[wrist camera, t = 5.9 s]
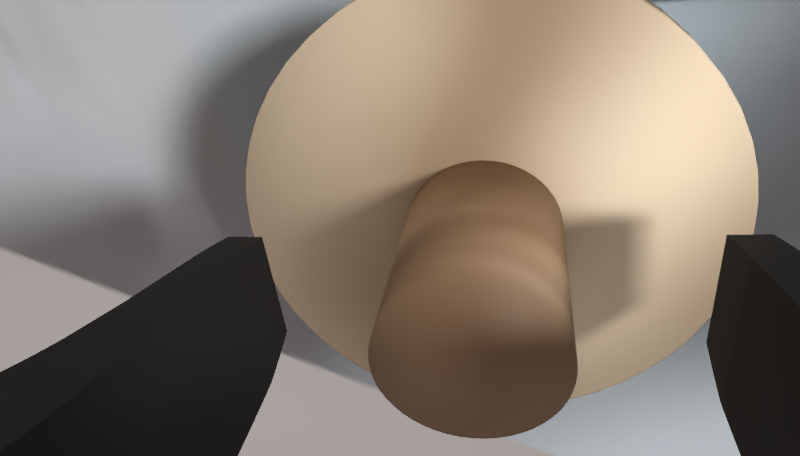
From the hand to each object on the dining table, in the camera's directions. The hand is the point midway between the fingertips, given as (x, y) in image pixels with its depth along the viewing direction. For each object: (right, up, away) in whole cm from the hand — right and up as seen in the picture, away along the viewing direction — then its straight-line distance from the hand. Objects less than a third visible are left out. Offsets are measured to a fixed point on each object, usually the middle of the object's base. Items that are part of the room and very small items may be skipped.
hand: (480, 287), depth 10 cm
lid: (0, +1, +2) cm, 2 cm away
